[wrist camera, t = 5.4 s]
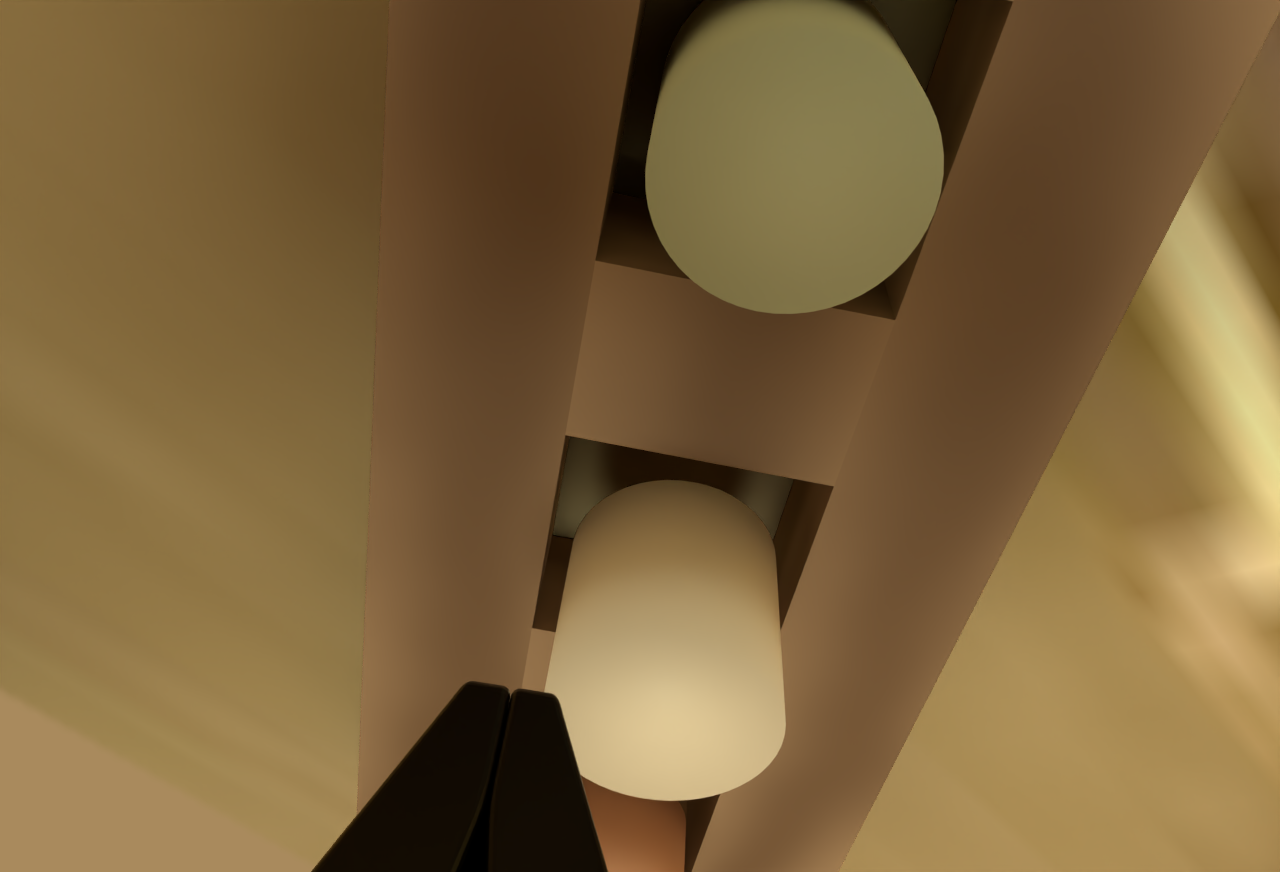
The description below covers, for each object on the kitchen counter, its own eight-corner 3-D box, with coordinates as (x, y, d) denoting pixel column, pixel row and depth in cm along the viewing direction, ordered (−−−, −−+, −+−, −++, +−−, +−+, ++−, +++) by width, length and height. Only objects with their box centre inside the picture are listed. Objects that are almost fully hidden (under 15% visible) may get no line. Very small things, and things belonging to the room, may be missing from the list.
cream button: (558, 615, 21) (527, 778, 18) (588, 462, 19) (558, 615, 16) (748, 650, 21) (752, 817, 18) (799, 502, 19) (815, 662, 16)
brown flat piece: (385, 775, 29) (354, 870, 27) (453, -266, 15) (400, -266, 13) (793, 846, 30) (800, 946, 27) (1225, -96, 16) (1318, -64, 13)
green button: (641, 185, 18) (622, 285, 15) (687, -57, 16) (677, -3, 13) (859, 229, 18) (888, 337, 15) (936, -4, 16) (990, 62, 13)
